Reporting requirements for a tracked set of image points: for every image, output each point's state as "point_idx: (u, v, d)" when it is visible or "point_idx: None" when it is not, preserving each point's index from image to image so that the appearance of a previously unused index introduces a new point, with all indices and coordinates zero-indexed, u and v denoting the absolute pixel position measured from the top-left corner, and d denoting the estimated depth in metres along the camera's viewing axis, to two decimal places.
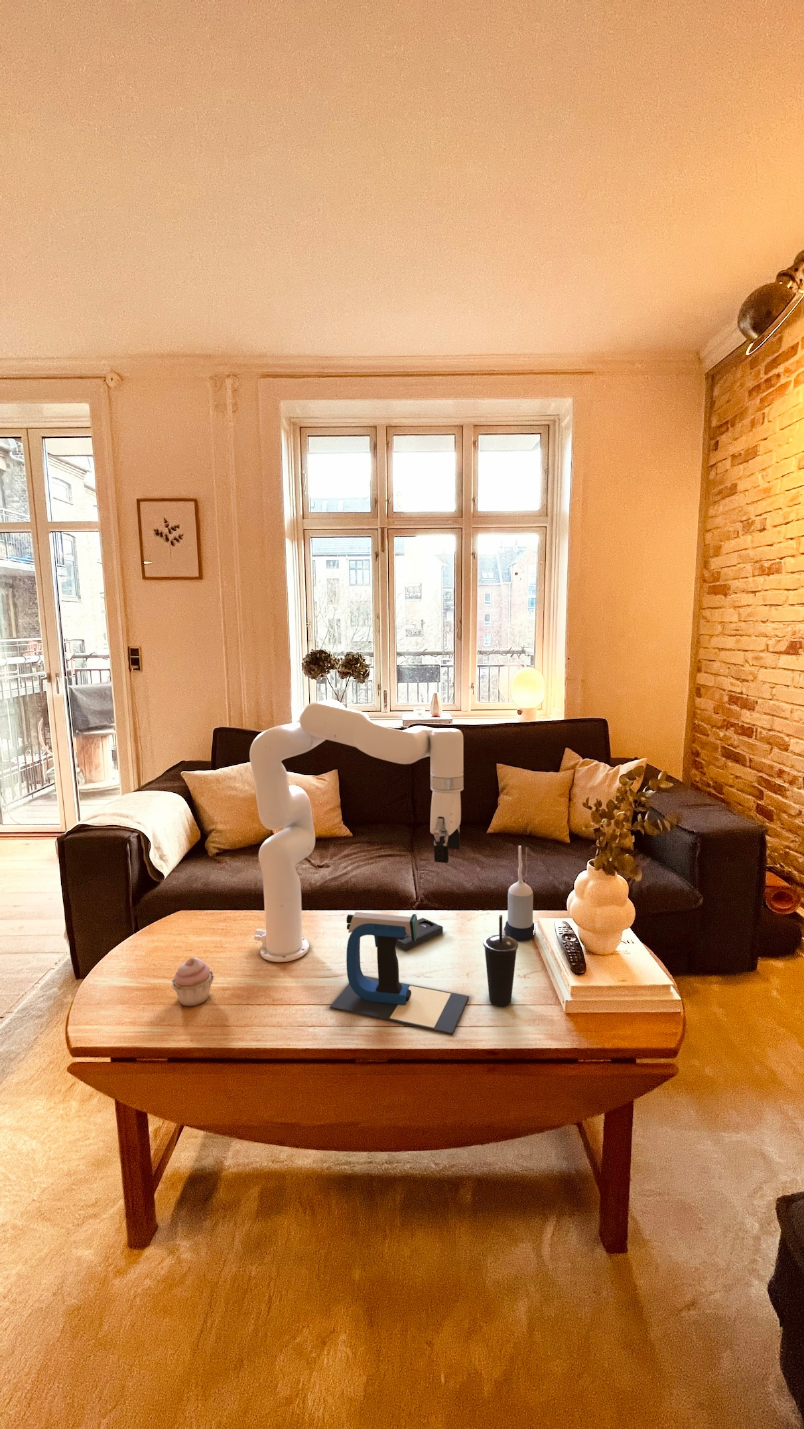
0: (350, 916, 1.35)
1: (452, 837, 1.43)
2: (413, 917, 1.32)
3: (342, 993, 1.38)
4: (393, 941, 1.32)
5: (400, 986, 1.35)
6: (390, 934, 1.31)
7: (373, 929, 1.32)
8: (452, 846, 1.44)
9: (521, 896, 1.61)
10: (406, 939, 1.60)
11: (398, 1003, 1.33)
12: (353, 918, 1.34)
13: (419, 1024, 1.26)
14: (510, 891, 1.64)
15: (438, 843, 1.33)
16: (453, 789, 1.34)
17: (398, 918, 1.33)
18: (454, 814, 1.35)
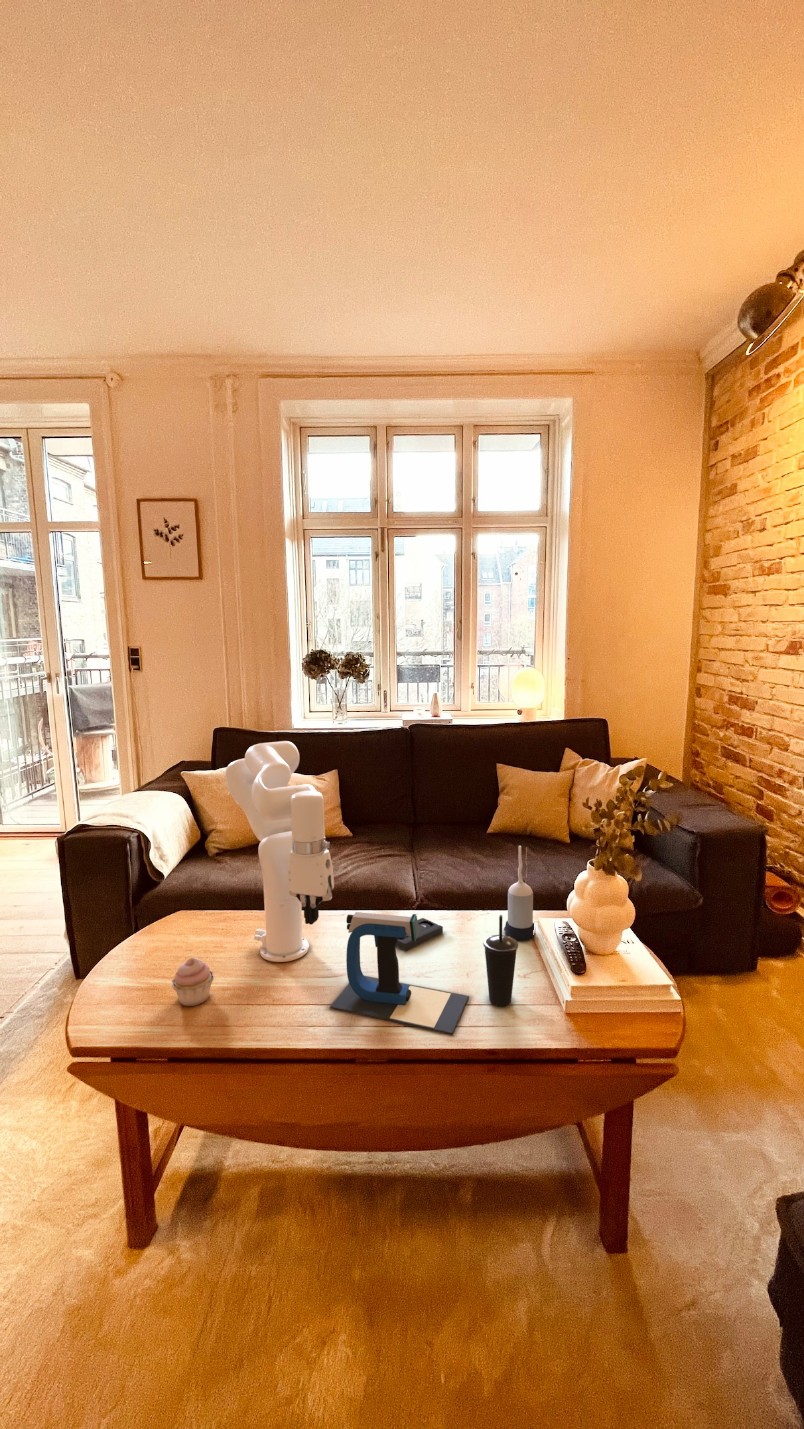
0: (350, 916, 1.35)
1: None
2: (413, 917, 1.32)
3: (342, 993, 1.38)
4: (393, 941, 1.32)
5: (400, 986, 1.35)
6: (390, 934, 1.31)
7: (373, 929, 1.32)
8: None
9: (521, 896, 1.61)
10: (406, 939, 1.60)
11: (398, 1003, 1.33)
12: (353, 918, 1.34)
13: (419, 1024, 1.26)
14: (510, 891, 1.64)
15: None
16: (292, 850, 1.37)
17: (398, 918, 1.33)
18: (295, 875, 1.38)
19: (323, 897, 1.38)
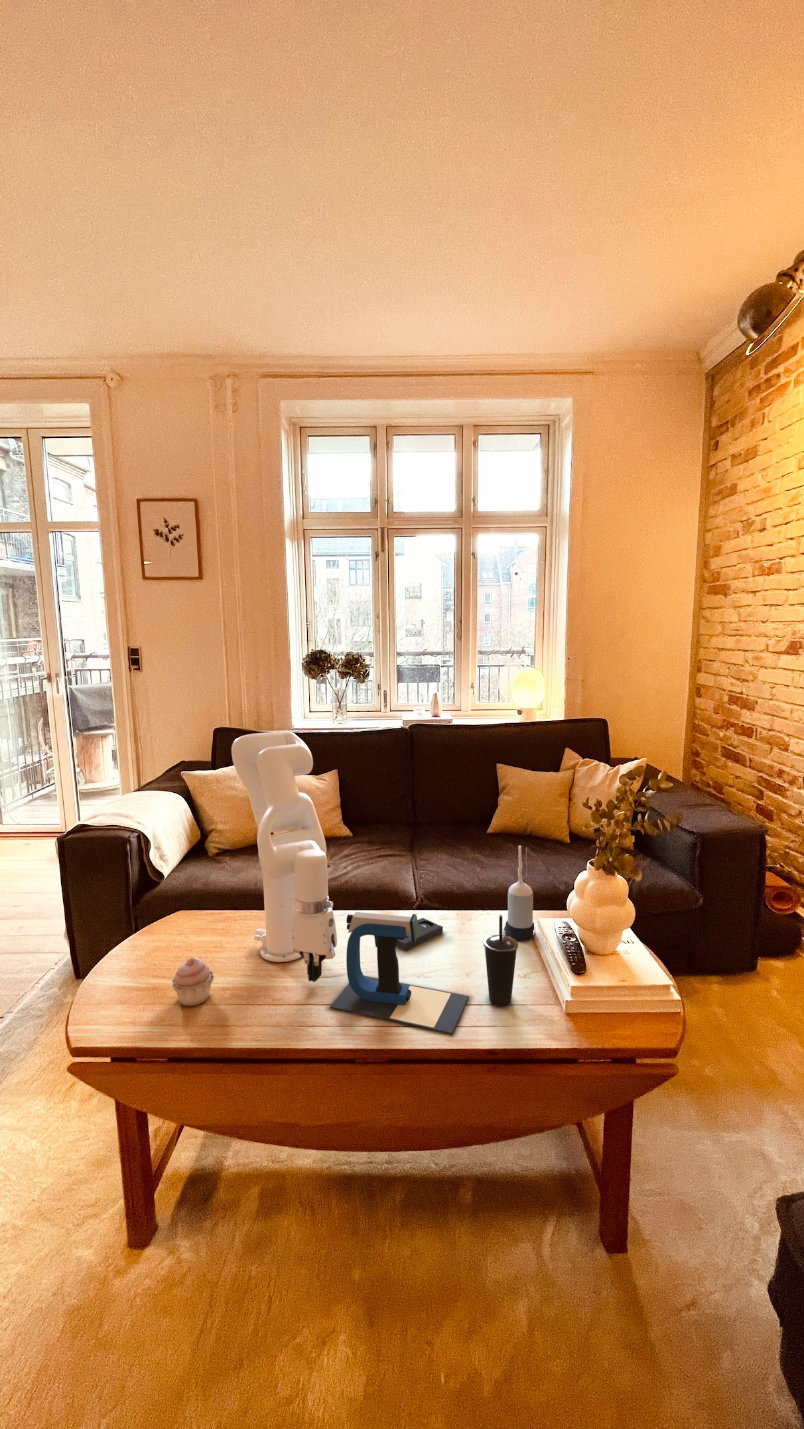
0: (350, 916, 1.35)
1: None
2: (413, 917, 1.32)
3: (342, 993, 1.38)
4: (393, 941, 1.32)
5: (400, 986, 1.35)
6: (390, 934, 1.31)
7: (373, 929, 1.32)
8: None
9: (521, 896, 1.61)
10: (406, 939, 1.60)
11: (398, 1003, 1.33)
12: (353, 918, 1.34)
13: (419, 1024, 1.26)
14: (510, 891, 1.64)
15: None
16: (296, 909, 1.39)
17: (398, 918, 1.33)
18: (299, 934, 1.39)
19: (326, 955, 1.39)
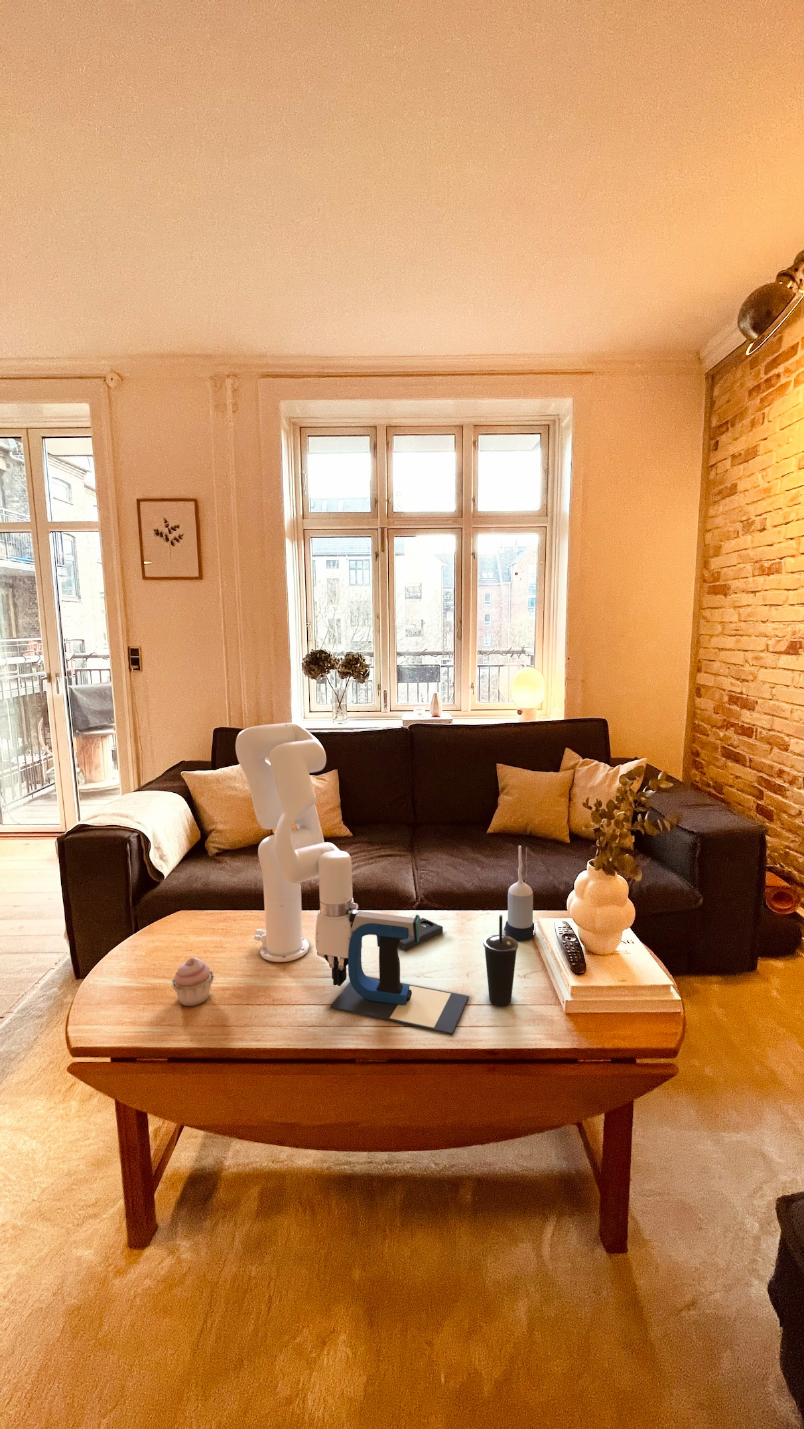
0: (353, 915, 1.34)
1: None
2: (416, 918, 1.32)
3: (342, 993, 1.38)
4: (395, 941, 1.32)
5: (401, 986, 1.35)
6: (393, 934, 1.31)
7: (376, 929, 1.32)
8: None
9: (521, 896, 1.61)
10: (406, 939, 1.60)
11: (398, 1003, 1.33)
12: (356, 917, 1.33)
13: (419, 1024, 1.26)
14: (510, 891, 1.64)
15: None
16: (320, 911, 1.36)
17: (401, 919, 1.32)
18: (323, 937, 1.37)
19: None
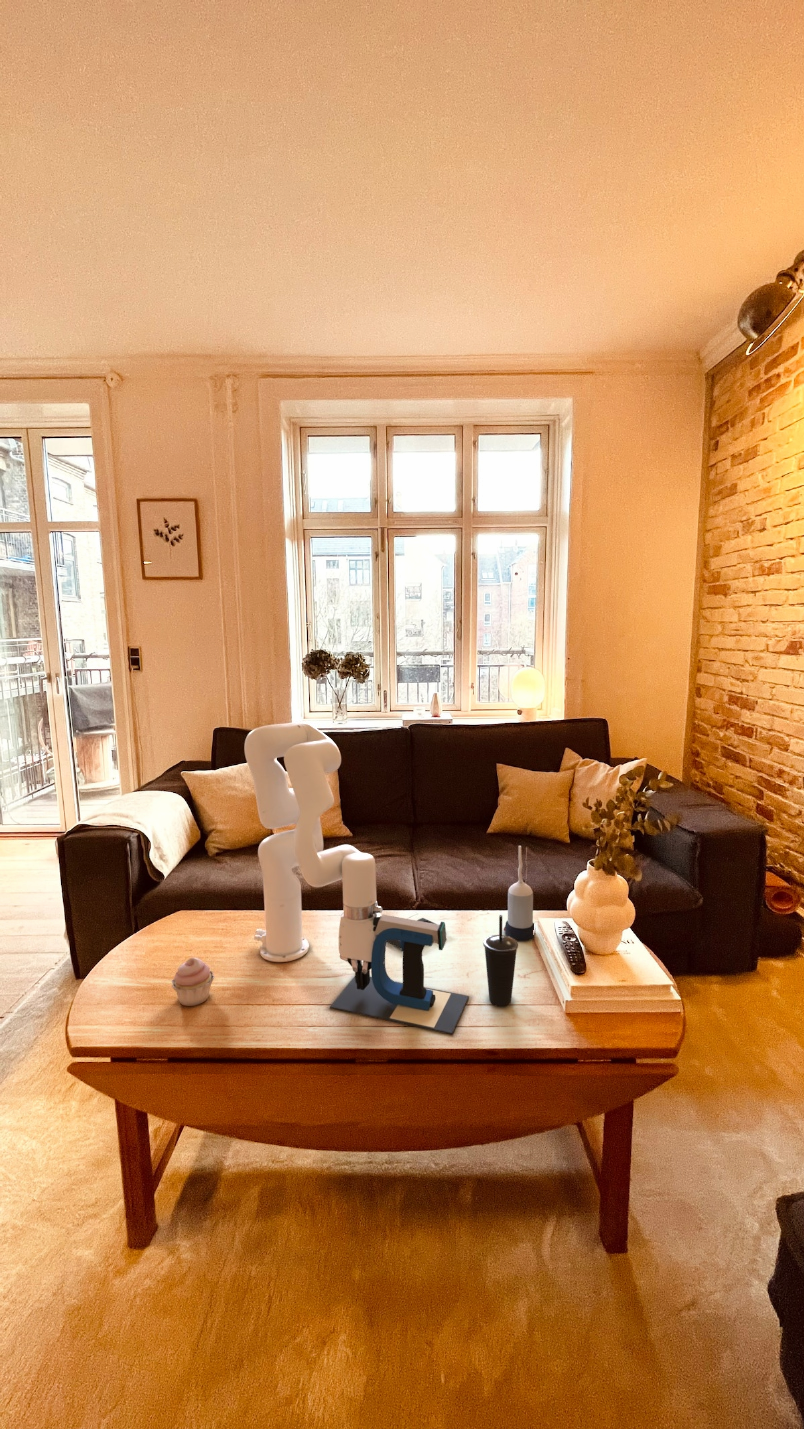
0: (377, 919, 1.31)
1: None
2: (441, 926, 1.28)
3: (342, 993, 1.38)
4: (419, 947, 1.29)
5: (424, 991, 1.33)
6: (417, 941, 1.28)
7: (399, 934, 1.29)
8: None
9: (521, 896, 1.61)
10: None
11: (421, 1008, 1.31)
12: (380, 921, 1.30)
13: (419, 1024, 1.26)
14: (510, 891, 1.64)
15: None
16: (344, 914, 1.34)
17: (426, 925, 1.29)
18: (347, 940, 1.34)
19: None
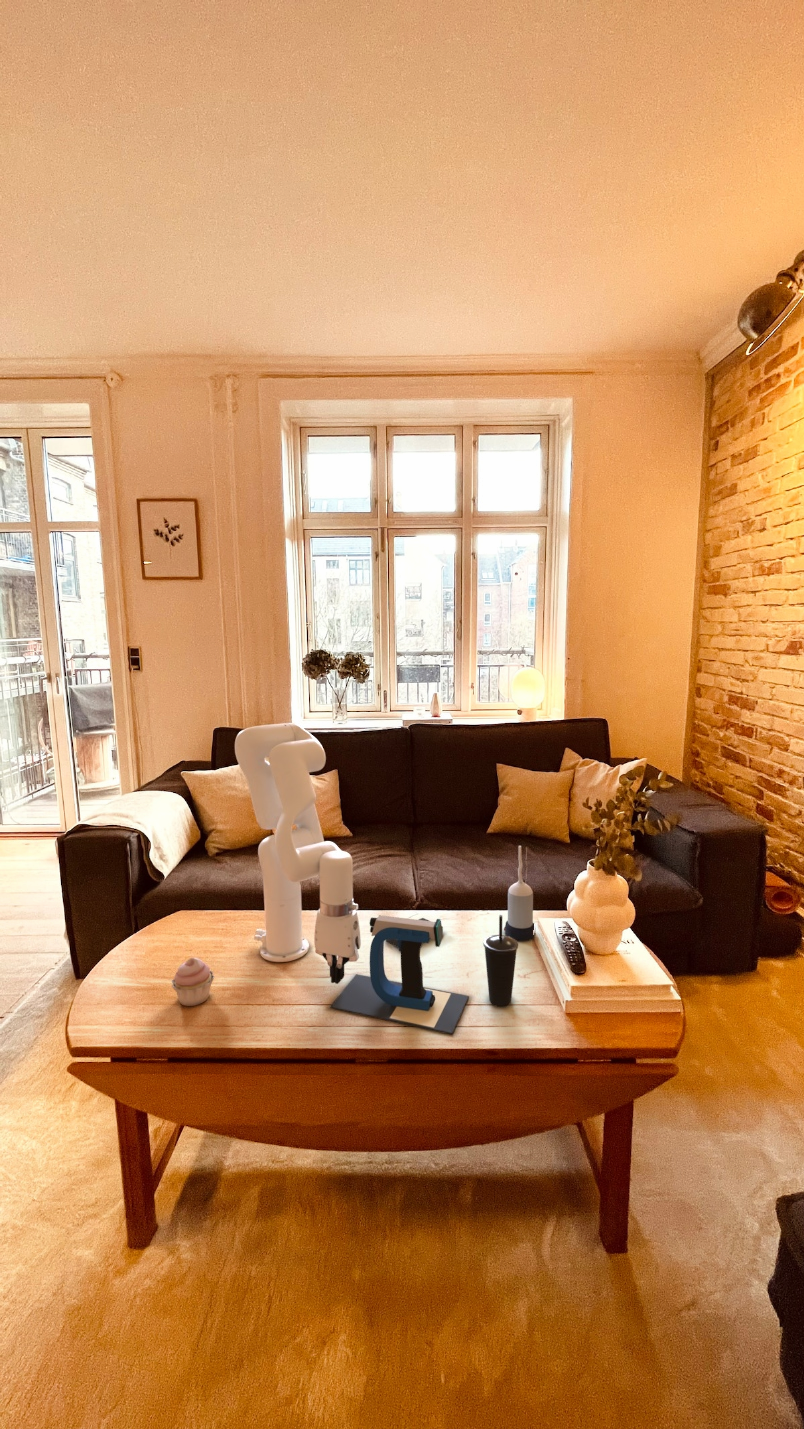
0: (373, 919, 1.33)
1: None
2: (437, 922, 1.29)
3: (342, 993, 1.38)
4: (416, 945, 1.30)
5: (424, 991, 1.33)
6: (413, 939, 1.29)
7: (396, 933, 1.30)
8: None
9: (521, 896, 1.61)
10: None
11: (421, 1008, 1.31)
12: (376, 921, 1.32)
13: (419, 1024, 1.26)
14: (510, 891, 1.64)
15: None
16: (320, 911, 1.37)
17: (422, 923, 1.30)
18: (322, 936, 1.37)
19: (350, 958, 1.38)
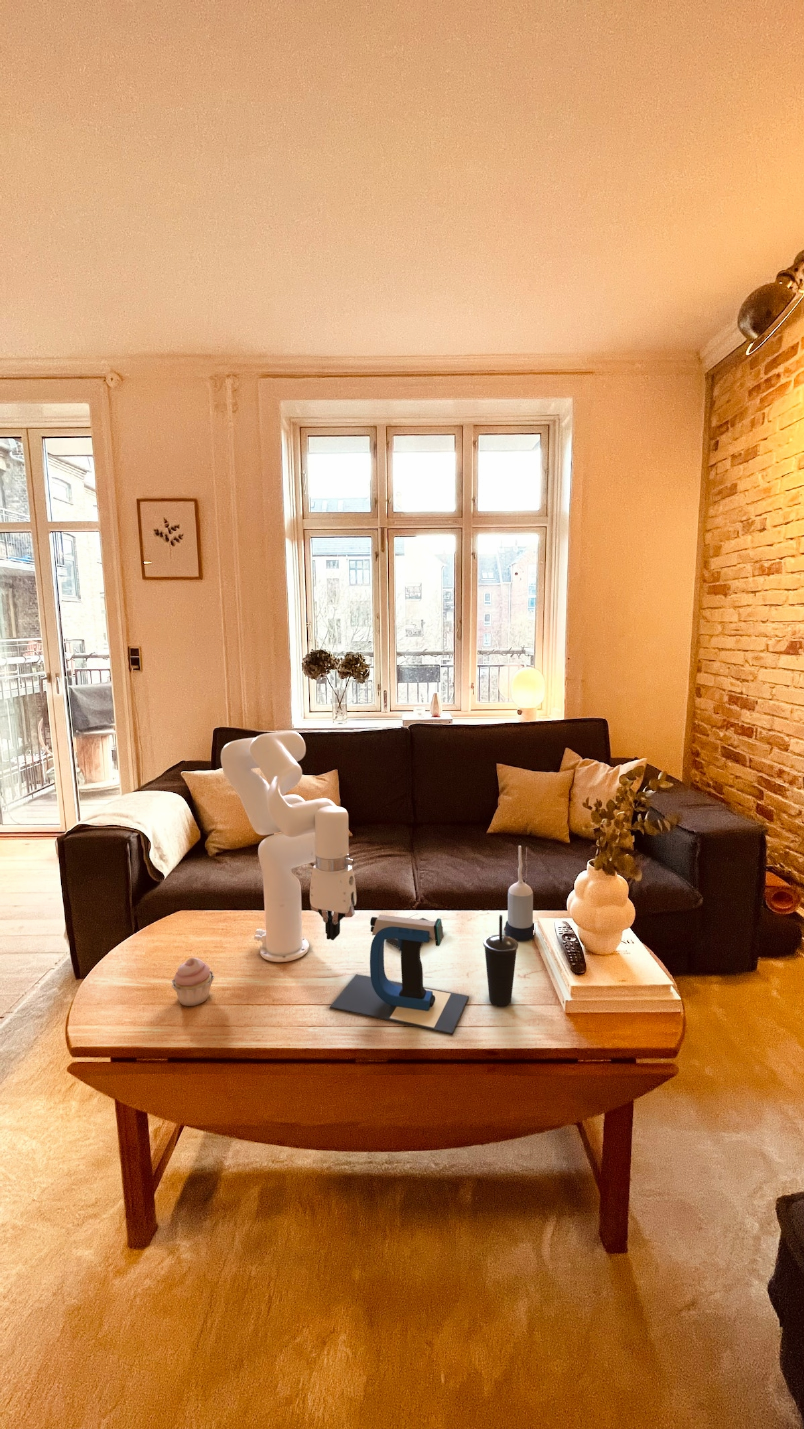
0: (374, 919, 1.33)
1: None
2: (437, 922, 1.30)
3: (342, 993, 1.38)
4: (417, 945, 1.30)
5: (424, 991, 1.33)
6: (414, 938, 1.29)
7: (397, 932, 1.30)
8: None
9: (521, 896, 1.61)
10: None
11: (421, 1008, 1.31)
12: (377, 921, 1.32)
13: (419, 1024, 1.26)
14: (510, 891, 1.64)
15: None
16: (315, 866, 1.36)
17: (422, 922, 1.31)
18: (318, 891, 1.36)
19: (345, 913, 1.37)
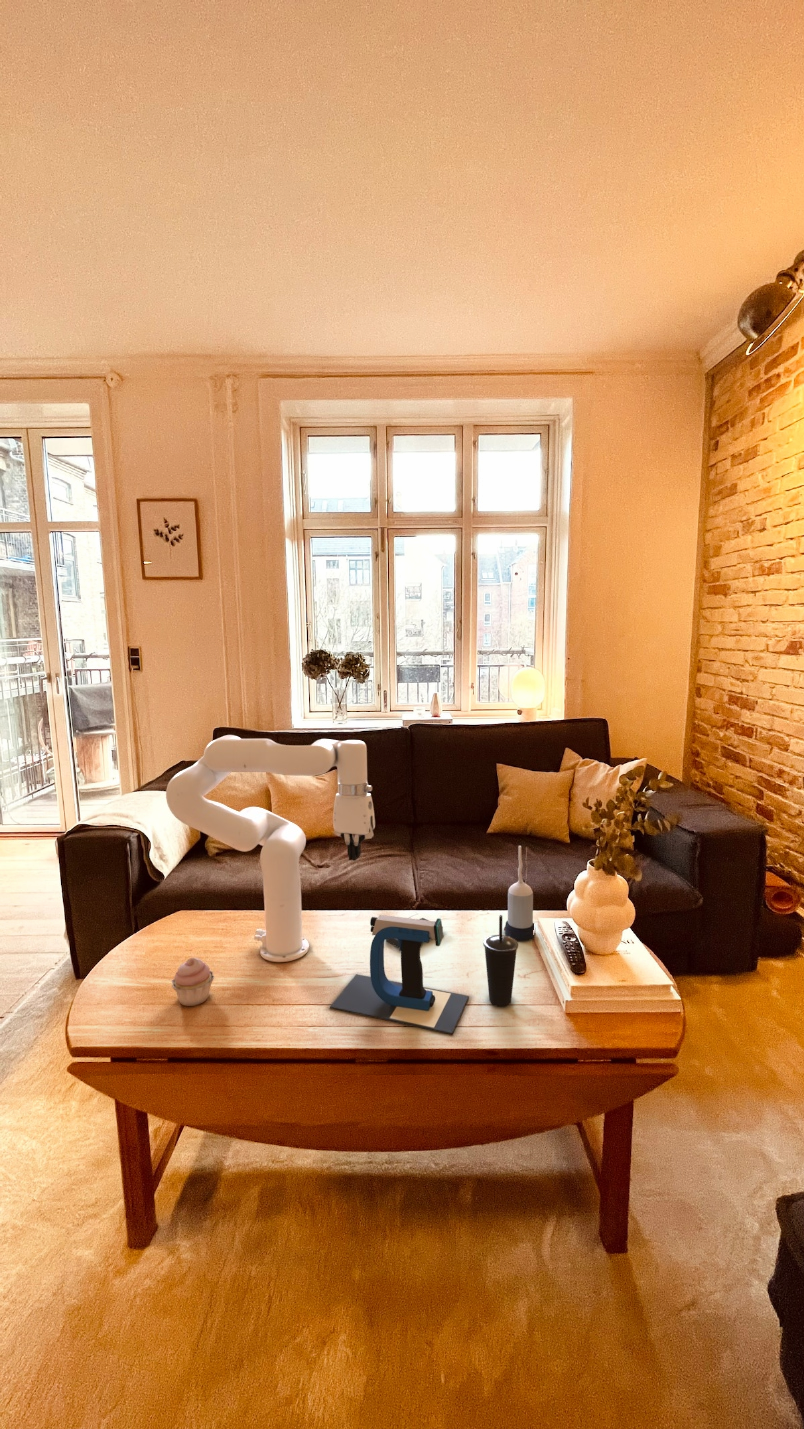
0: (374, 919, 1.33)
1: None
2: (437, 922, 1.30)
3: (342, 993, 1.38)
4: (416, 945, 1.30)
5: (424, 991, 1.33)
6: (414, 938, 1.29)
7: (397, 933, 1.30)
8: None
9: (521, 896, 1.61)
10: None
11: (421, 1008, 1.31)
12: (377, 921, 1.32)
13: (419, 1024, 1.26)
14: (510, 891, 1.64)
15: None
16: (338, 793, 1.52)
17: (422, 922, 1.31)
18: (340, 816, 1.52)
19: (365, 835, 1.53)
